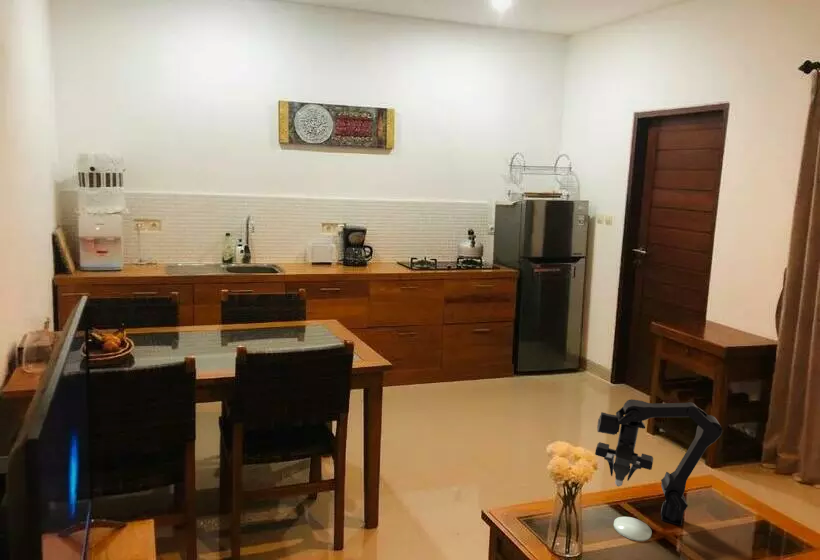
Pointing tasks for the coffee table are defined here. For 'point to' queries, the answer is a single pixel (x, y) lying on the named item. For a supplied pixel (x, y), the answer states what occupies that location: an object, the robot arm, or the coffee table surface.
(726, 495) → the coffee table surface
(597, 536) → the coffee table surface
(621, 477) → the light bulb
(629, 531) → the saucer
